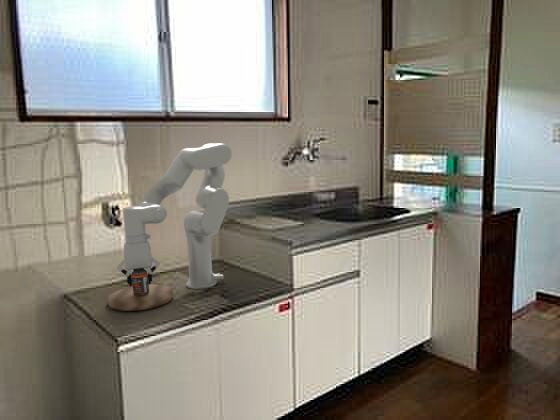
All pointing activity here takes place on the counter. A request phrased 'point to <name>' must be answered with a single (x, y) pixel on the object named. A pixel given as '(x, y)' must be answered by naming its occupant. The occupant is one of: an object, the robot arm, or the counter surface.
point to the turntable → (140, 298)
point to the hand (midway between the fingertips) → (140, 284)
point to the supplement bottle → (140, 282)
